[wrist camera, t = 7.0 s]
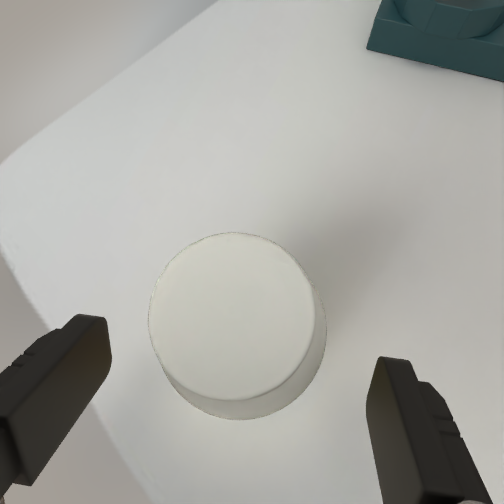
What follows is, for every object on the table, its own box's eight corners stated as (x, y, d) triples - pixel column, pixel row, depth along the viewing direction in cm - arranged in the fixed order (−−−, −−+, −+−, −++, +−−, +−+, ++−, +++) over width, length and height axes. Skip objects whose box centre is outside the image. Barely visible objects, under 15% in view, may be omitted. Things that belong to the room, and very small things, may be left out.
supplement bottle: (203, 290, 18) (138, 201, 9) (305, 294, 18) (343, 206, 9) (191, 401, 16) (95, 427, 7) (306, 407, 16) (353, 444, 7)
